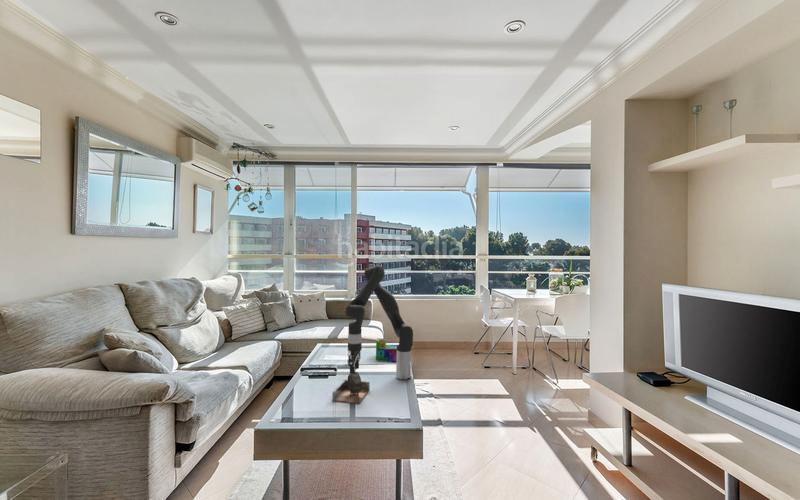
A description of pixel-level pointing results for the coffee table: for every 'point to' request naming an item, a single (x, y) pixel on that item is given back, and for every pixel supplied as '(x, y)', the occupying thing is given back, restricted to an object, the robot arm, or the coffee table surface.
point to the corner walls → (345, 385)
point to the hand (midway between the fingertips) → (354, 370)
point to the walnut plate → (351, 396)
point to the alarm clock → (354, 383)
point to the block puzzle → (385, 351)
